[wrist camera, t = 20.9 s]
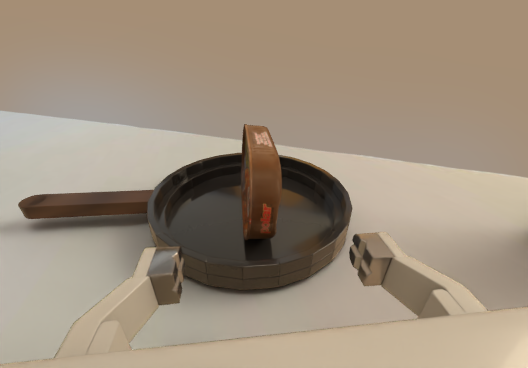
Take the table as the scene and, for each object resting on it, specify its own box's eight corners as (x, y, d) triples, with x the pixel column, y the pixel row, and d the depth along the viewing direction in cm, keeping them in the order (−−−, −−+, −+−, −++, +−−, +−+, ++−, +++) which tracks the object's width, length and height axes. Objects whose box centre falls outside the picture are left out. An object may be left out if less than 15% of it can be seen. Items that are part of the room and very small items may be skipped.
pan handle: (19, 219, 23) (11, 207, 23) (35, 206, 25) (28, 194, 25) (152, 213, 25) (149, 201, 24) (157, 200, 27) (155, 189, 26)
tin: (240, 176, 34) (238, 114, 29) (263, 176, 34) (264, 114, 30) (244, 262, 21) (242, 173, 17) (281, 259, 21) (288, 171, 17)
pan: (120, 305, 18) (108, 277, 16) (175, 174, 35) (172, 154, 34) (385, 282, 20) (396, 255, 18) (313, 169, 37) (316, 150, 36)
